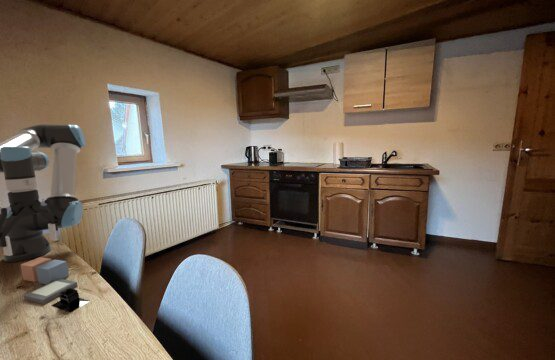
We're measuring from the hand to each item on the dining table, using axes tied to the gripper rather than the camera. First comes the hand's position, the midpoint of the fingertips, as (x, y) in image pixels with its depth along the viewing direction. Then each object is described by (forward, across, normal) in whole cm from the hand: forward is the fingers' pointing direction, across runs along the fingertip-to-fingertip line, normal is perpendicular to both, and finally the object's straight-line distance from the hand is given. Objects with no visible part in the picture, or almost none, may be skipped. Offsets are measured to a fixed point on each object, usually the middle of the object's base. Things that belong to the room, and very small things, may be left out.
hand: (32, 247), depth 90 cm
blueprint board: (+12, -6, -16) cm, 21 cm away
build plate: (+13, -8, -28) cm, 32 cm away
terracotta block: (+12, 0, 0) cm, 12 cm away
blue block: (+12, 0, -8) cm, 14 cm away
